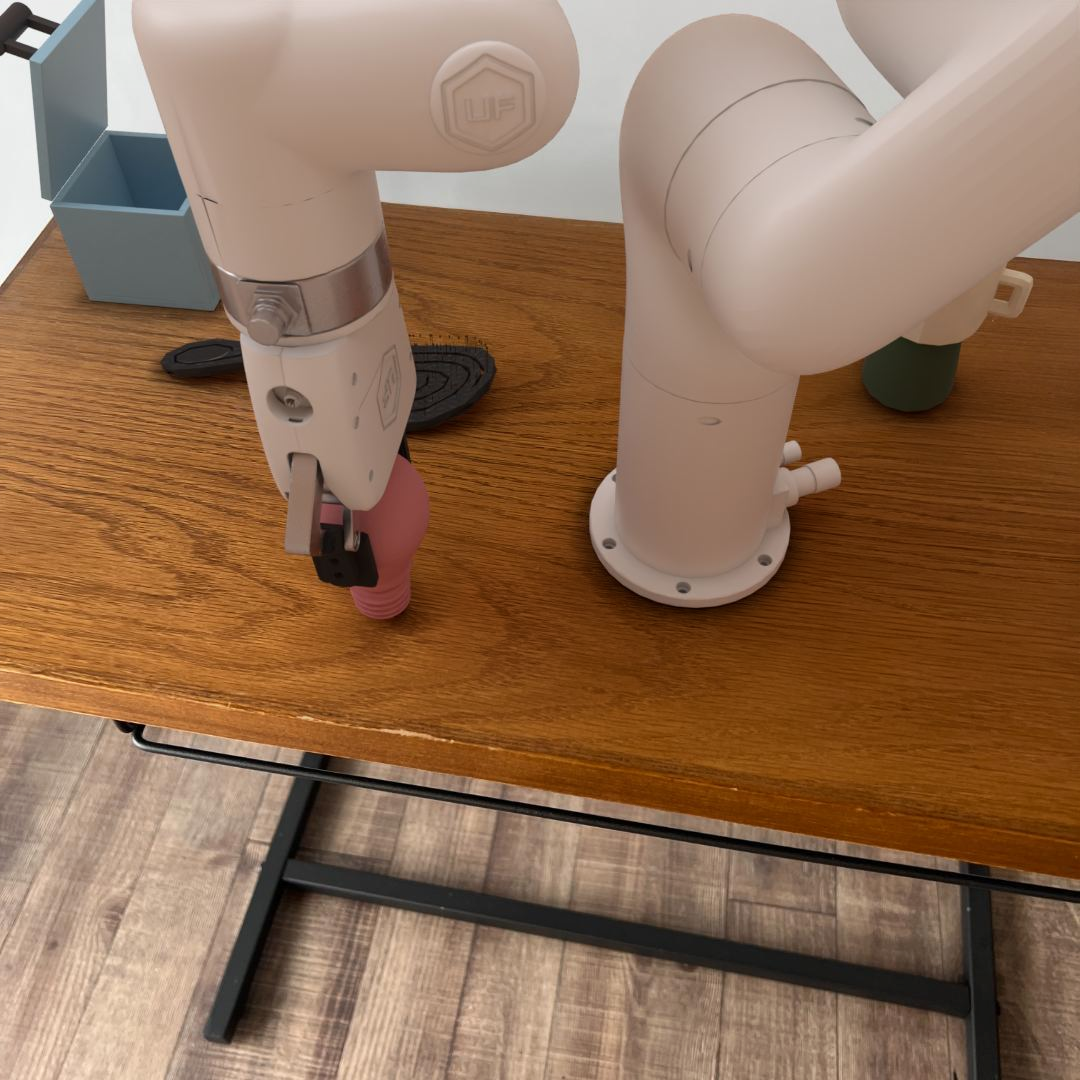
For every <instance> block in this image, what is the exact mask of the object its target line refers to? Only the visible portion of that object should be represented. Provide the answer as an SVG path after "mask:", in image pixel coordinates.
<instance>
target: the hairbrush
mask: <svg viewBox="0 0 1080 1080" xmlns="http://www.w3.org/2000/svg"><path fill="white" fill-rule="evenodd" d="M418 336H419V338H422V334H421V333H419V334H418ZM428 336H429V343H430V345H429V344H428V342H426V343H425V345H418V342H417V343H416V342H413V345H411V341H409V342H410V346H411V351H412V355H413V360H414V365H415V370H416V378H417V380H416V391H415V396H414V400H413V404H412V407H411V411H410V414H409V418H408V421H407V424H406V427H405V432H415V431H424V430H425V431H426V430H430V429H431V428H434V427H436V426H438V425H441V424H443V423H445V422H447V421H450V420H453V419H455V418H457V417H459V416H462V415H465V414H466V413H467V412H469V410H470V409H471V408H473V406H475V405H476V404H477V403H478V402H479V401H480V400H481V399H482V398H483V397H484V396H485V395H486V394H488V392H489V391H490V389H491V386H492V384H493V381H494V379H495V377H496V375H497V371H498V368H497V366H496V360H495V359H496V358H494V356H492V355H491V354H490V353H489V347H488V346H487V343H486V342H485V343H484V347H485V348H483V347H482V345H483V341H481V339H478V343H479V344H480V346H476V345H474V346H469V344H468V341H469V340H468V338H469V335H467V334H465V335H464V338H465V339H466V345H454V344H447V343H445V344H441V342H439V343H440V344H438V343H437V342H436V343H434V342H433V339H432V338H434V336H433V333H429V335H428ZM408 337H409V338H411V337H413V339H415V334H412V335H411V334H408ZM438 338H439V339H441V338H442V335H441V334H439V335H438ZM448 339H451V335H450V334H448ZM457 339H458V340H460V336H458V337H457ZM473 339H474V340H476V339H477V337H476V336H474V337H473ZM420 342H421V339H420ZM160 364H161V367H162V370H164V372H165V373H167V374H169V375H170V376H173V377H175V378H176V379H184V378H185V379H186V378H187V379H188V378H201V377H210V376H217V375H223V374H229V373H230V374H231V373H236V372H242V371H243V372H245V367H244V362H243V355H242V349H241V343H240V340H235V339H227V338H220V337H219V338H218V337H217V338H216V337H215V338H210V339H204V340H199V341H193V342H187V343H185V344H183V345H181V346H179V347H176V348H175V349H173V350H171V351H168V352H166V353H165V354H164V356H163V357H162V359H161V360H160Z"/></svg>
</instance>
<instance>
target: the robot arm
mask: <svg viewBox="0 0 1080 1080" xmlns="http://www.w3.org/2000/svg"><path fill="white" fill-rule="evenodd" d="M835 1H836V5H837V8H838V12H839V14H840V18H841V20H842V23H843V25H844V28H845V29H846V31H847V32H848V34H849V36H850V37H851V38H852V40H853V42H854V43H855V45H856V46H857V47H858V48H859V50H860V51H861V52H862V53H863V55H864V56H865V57H866V58H867V59H868V61H869V62H870V64H871V65H872V66H873V67H874V68H875V70H877V71H878V73H879V74H880V75H881V76H882V77H883V78H884V80H886V82H887V83H888V84H889V85H890V86H891V87H892V88H893V90H895V91H896V92H897V93H898V94H899V96H901V98H902V100H901V101H900V102H899V103H898V104H897V105H895V106H894V107H893V108H891V110H890V111H888V112H886V114H884V115H883V116H882V117H881V118H879V119H878V120H877V119H875V117H874V116H873V115H872V114H871V113H870V112H869V110H868V109H867V107H866V105H865V104H864V102H862V100H861V99H860V98H859V97H858V96H857V95H856V94H855V93H854V92H853V91H852V90H851V88H850V87H849V86H848V85H847V84H846V83H845V82H844V81H843V80H842V79H841V77H839V76H838V74H837V73H836V72H835V71H834V70H833V69H832V68H831V67H830V66H829V64H828V63H827V61H825V60H824V58H822V57H821V55H819V53H817V52H816V50H815V49H813V48H812V47H811V46H810V45H808V43H807V42H805V40H803V39H802V38H801V37H800V36H797V35H796V34H794V33H793V32H792V31H790V30H789V29H788V28H785V27H783V26H782V25H780V24H778V23H777V22H774V21H771V20H769V19H766V18H764V17H761V16H757V15H752V14H748V13H747V14H746V13H745V14H744V13H733V12H732V13H724V14H722V13H721V14H718V15H712V16H708V17H703V18H701V19H697V20H695V21H693V22H689V24H687V25H685V26H684V27H682V28H680V29H678V30H677V31H675V32H674V33H672V34H671V35H669V37H667V38H666V39H665V40H663V42H662V43H661V44H660V45H659V46H658V47H656V49H655V50H654V51H653V52H652V54H651V55H650V56H649V57H648V59H647V60H646V61H645V63H644V64H643V66H642V67H641V69H640V71H639V72H638V74H637V75H636V77H635V80H634V82H633V83H632V86H631V89H630V90H629V93H628V95H627V96H628V97H627V99H626V102H625V105H624V109H623V114H622V119H621V122H620V130H619V139H618V176H619V192H620V202H621V213H622V214H621V215H622V223H623V224H622V225H623V233H624V234H623V235H624V249H625V272H626V273H625V276H626V277H625V291H626V292H625V308H624V309H625V311H624V312H625V313H624V332H623V333H624V334H623V337H622V358H621V377H620V393H619V394H620V395H619V398H620V399H619V415H618V432H617V433H618V434H617V451H616V452H617V453H616V455H617V456H616V467H615V468H614V469H613V470H611V472H609V473H608V474H607V475H606V476H605V477H604V478H603V480H602V481H601V483H600V484H599V485H598V487H597V489H596V491H595V493H594V494H593V498H592V500H591V503H590V509H589V521H588V522H589V524H588V525H589V528H588V529H589V535H590V540H591V545H592V548H593V550H594V552H595V554H596V556H597V558H598V560H599V562H600V563H601V565H602V566H603V567H604V568H605V570H606V571H607V572H608V573H609V574H610V576H612V577H613V578H614V579H615V580H616V581H617V582H618V583H620V584H621V585H622V586H624V587H626V588H627V589H629V590H630V591H632V592H634V593H636V594H637V595H639V596H641V597H644V598H646V599H648V600H651V601H654V602H657V603H660V604H664V605H669V606H673V607H681V608H693V609H694V608H695V609H699V608H711V607H719V606H723V605H727V604H731V603H733V602H738V601H739V600H742V599H743V598H745V597H748V596H751V595H752V594H754V593H756V592H757V591H758V590H759V589H761V588H762V587H764V586H765V585H766V584H767V583H769V581H770V580H771V579H772V578H773V577H774V576H775V575H776V574H777V572H778V571H779V569H780V567H781V566H782V563H783V561H784V560H785V557H786V553H787V550H788V547H789V544H790V543H789V542H790V536H791V523H790V516H789V512H788V508H789V507H792V506H795V505H797V504H798V502H799V499H800V498H801V497H804V496H807V495H810V494H811V495H815V494H819V493H821V492H824V491H827V490H831V489H834V488H836V487H838V486H840V485H841V481H842V472H841V470H840V467H839V464H838V463H837V462H836V460H835V459H833V458H832V457H826V458H823V459H819V460H816V461H812V462H810V463H807V464H803V465H802V466H801V467H798V468H796V469H792V470H790V469H788V468H787V467H785V466H786V465H790V464H793V463H797V462H799V461H801V459H802V456H803V455H802V449H801V446H800V444H799V442H797V440H790V441H787V437H788V432H789V427H790V423H791V419H792V415H793V410H794V405H795V401H796V396H797V392H798V387H799V384H800V378H801V376H811V375H817V374H823V373H827V372H832V371H835V370H837V369H840V368H844V367H846V366H849V365H851V364H854V363H856V362H858V361H860V360H863V359H865V358H866V356H868V355H870V354H872V353H874V352H875V351H877V350H879V349H881V348H883V347H884V346H886V345H888V344H889V343H891V342H892V341H894V340H896V339H897V338H899V337H900V336H902V335H903V334H905V333H906V332H908V331H909V330H911V329H912V328H914V327H915V326H917V325H918V324H920V323H921V322H923V321H924V320H926V319H927V318H929V317H930V316H931V315H933V314H934V313H936V312H937V311H939V310H940V309H941V308H943V307H944V306H946V305H947V304H949V303H950V302H951V301H953V300H954V299H956V298H957V297H959V296H960V295H961V294H963V293H964V292H966V291H967V290H969V289H970V288H971V287H973V286H974V285H976V284H977V283H979V282H980V281H981V280H983V279H984V278H986V277H987V276H989V275H990V274H991V273H993V272H994V271H996V270H997V269H999V268H1000V267H1002V266H1003V265H1004V264H1006V263H1007V262H1008V263H1009V262H1010V261H1012V260H1013V259H1014V258H1016V257H1017V256H1019V255H1020V254H1021V253H1023V252H1025V251H1026V250H1028V249H1029V248H1031V246H1033V245H1034V244H1036V243H1037V242H1039V241H1040V240H1041V239H1043V238H1044V237H1046V236H1047V235H1049V234H1050V233H1052V232H1053V231H1054V230H1056V229H1057V228H1059V227H1061V226H1062V225H1063V224H1064V223H1065V222H1068V221H1069V220H1070V219H1072V218H1073V217H1074V216H1076V215H1077V214H1078V213H1080V0H835ZM563 9H564V8H563V7H562V6H561V4H560V2H559V1H558V0H132V2H131V11H130V13H131V27H132V28H131V29H132V32H133V36H134V40H135V43H136V46H137V50H138V51H137V52H138V54H139V57H140V60H141V63H142V66H143V69H144V72H145V75H146V78H147V81H148V85H149V87H150V90H151V93H152V95H153V100H154V102H155V106H156V109H157V111H158V114H159V117H160V120H161V123H162V126H163V129H164V132H165V134H166V135H167V138H168V141H169V144H170V147H171V150H172V153H173V156H174V159H175V162H176V165H177V168H178V171H179V174H180V177H181V180H182V183H183V185H184V188H185V191H186V194H187V197H188V200H189V203H190V206H191V209H192V213H193V216H194V219H195V222H196V225H197V228H198V231H199V234H200V237H201V240H202V243H203V246H204V249H205V252H206V255H207V258H208V261H209V264H210V267H211V270H212V273H213V276H214V279H215V282H216V285H217V288H218V291H219V294H220V297H221V298H220V300H221V303H222V307H223V308H224V311H225V315H226V317H227V319H228V320H229V321H230V323H231V325H232V326H234V328H236V329H237V330H238V331H239V332H240V333H239V341H240V343H241V349H242V355H243V362H244V367H245V371H244V372H245V378H246V381H247V388H248V392H249V396H250V402H251V406H252V410H253V414H254V418H255V423H256V426H257V427H256V428H257V430H258V434H259V438H260V441H261V445H262V449H263V451H264V455H265V457H266V461H267V464H268V468H269V470H270V473H271V475H272V478H273V480H274V482H275V485H276V487H277V489H278V491H279V493H280V495H281V496H282V497H283V498H284V499H285V500H286V501H287V510H286V511H287V512H286V523H285V533H284V534H285V535H284V544H283V545H284V551H285V554H287V555H294V556H296V555H297V556H303V557H311V559H312V562H313V565H314V568H315V572H316V575H317V577H318V580H319V581H320V582H322V583H324V584H330V585H332V586H335V587H338V588H339V587H340V588H350V587H353V586H360V587H370V588H373V587H376V585H377V582H378V579H379V575H378V571H377V567H376V563H375V559H374V555H373V551H372V547H371V543H370V539H369V535H368V534H366V533H365V532H360V510H363V511H368V510H370V509H371V508H373V507H374V506H375V505H376V504H377V503H378V502H379V500H380V499H381V497H382V496H383V493H384V491H385V488H386V486H387V483H388V480H389V477H390V474H391V471H392V468H393V465H394V462H395V459H396V456H397V453H398V454H399V455H401V456H402V457H404V458H405V459H406V460H408V461H409V462H410V463H411V464H412V459H411V453H410V449H409V443H408V438H407V433H406V432H407V431H406V432H405V427H406V424H407V421H408V418H409V414H410V411H411V407H412V404H413V400H414V396H415V391H416V380H417V378H416V370H415V365H414V360H413V355H412V351H411V346H412V345H411V344H410V342H411V341H410V337H409V333H408V329H407V324H406V321H405V320H406V319H405V316H404V312H403V308H402V303H401V299H400V296H399V292H398V288H397V284H396V282H395V275H394V269H393V265H392V264H393V263H392V259H391V251H390V247H389V240H388V235H387V231H386V230H387V229H386V224H385V218H384V213H383V208H382V203H381V196H380V191H379V185H378V179H377V174H376V172H411V173H412V172H413V173H442V174H443V173H444V174H445V173H446V174H447V173H451V174H453V173H459V174H461V173H471V172H472V173H473V172H485V171H490V170H495V169H499V168H504V167H508V166H511V165H513V164H516V163H520V162H521V161H524V160H526V159H527V158H529V157H531V156H534V154H536V153H537V152H539V151H540V150H542V149H543V148H544V147H546V146H547V145H548V144H549V143H550V142H551V141H553V139H554V138H555V137H556V136H557V135H558V134H559V133H560V131H561V130H562V128H563V127H564V126H565V124H566V123H567V121H568V119H569V117H570V115H571V113H572V110H573V108H574V105H575V103H576V100H577V96H578V91H579V88H580V87H579V86H580V73H581V69H580V55H579V51H578V46H577V41H576V39H575V36H574V32H573V29H572V27H571V25H570V21H569V20H568V17H567V16H566V13H565V11H564V10H563ZM1008 263H1007V264H1008ZM786 441H787V442H786ZM324 481H325V484H324ZM322 503H325V504H336V505H342V515H343V525H340V524H330V523H320V519H321V508H322Z"/></svg>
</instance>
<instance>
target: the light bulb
mask: <svg viewBox="0 0 1080 1080" xmlns="http://www.w3.org/2000/svg"><path fill="white" fill-rule="evenodd" d="M324 484H325V481H324ZM427 489H428V488H427V486H426V483H425V482H424V480H423V478H422V476H421V474H420V472H418V470H417V469H416V467H415V466H414V465H413V464H412V462H411V463H410V462H409V461H408V460H406V459H405V458H404V457H402V456H401V455H399V454H398V453H397V456H396V459H395V462H394V465H393V468H392V471H391V474H390V477H389V480H388V483H387V486H386V488H385V491H384V493H383V496H382V497H381V499H380V500H379V502H378V503H377V504H376V505H375V506H374V507H373V508H371V509H370V510H368V511H363V510H360V532H365V533H366V534H368V535H369V539H370V543H371V547H372V551H373V555H374V559H375V563H376V567H377V571H378V575H379V579H378V582H377V585H376V587H373V588H370V587H360V586H353V587H349V591H350V595H351V597H352V600H353V603H354V605H355V607H356V609H357V610H358V611H359V612H360V614H362V615H363V616H366V617H368V618H371V619H373V620H388V619H391V618H394V617H396V616H399V615H400V614H401V613H402V612H403V611H404V610H405V609H406V608H407V607H408V605H409V603H410V600H411V597H412V591H411V587H412V586H411V584H412V583H411V576H410V574H411V571H412V569H413V566H414V556H415V554H416V553H417V551H418V549H419V547H420V545H421V543H422V541H423V540H424V538H425V536H426V534H427V530H428V527H429V523H430V517H431V503H430V496H429V492H428V490H427ZM320 523H330V524H340V525H343V515H342V505H336V504H325V503H322V508H321V519H320Z"/></svg>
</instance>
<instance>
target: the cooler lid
mask: <svg viewBox="0 0 1080 1080" xmlns="http://www.w3.org/2000/svg"><path fill="white" fill-rule="evenodd" d="M105 4H106V1H105V0H80V2H79V3H78V4H77V5H76V6H75V7H74V8H73V9H72V11H71V12H70V13H69V14H68V15H67V16H66V18H64V19H63V21H62V22H61V23H59V22H56V21H54V20H51V19H48V18H45V17H43V16H40V15H36V14H34V13H33V10H31V8H30V7H29V6H28V5H27V4H25V3H23V2H21V1H14V2H12V3H11V4H10V5H9V6H8V7H7V8H6V9H5V10H4V12H2V14H1V15H0V57H2V56H3V55H5V53H7V54H9V55H11V56H15V57H17V58H20V59H23V60H25V61H28V63H29V73H30V85H31V95H32V96H31V97H32V107H33V108H32V109H33V119H34V129H35V130H34V131H35V143H36V154H37V164H38V165H37V166H38V175H39V188H40V198H41V199H43V200H46V201H49V202H53V200H54V199H55V197H56V196H57V195H58V193H59V192H60V191H61V189H62V188H63V186H64V185H65V184H66V182H67V181H68V180H69V178H70V177H71V176H72V174H73V173H74V172H75V170H76V169H77V168H78V166H79V165H80V164H81V162H82V161H83V159H84V158H85V157H86V155H87V154H88V153H89V151H90V150H91V149H92V147H93V146H94V145H95V143H96V142H97V141H98V139H99V138H100V137H101V135H102V134H103V133H104V131H105V130H107V129H108V127H109V113H108V78H107V77H108V76H107V75H108V74H107V73H108V72H107V42H106V41H107V39H106V38H107V37H106V5H105ZM27 29H32V30H35V31H38V32H40V33H42V34H46V35H48V36H49V37H48V38H47V39H45V41H44V42H43V43H42V44H41V45H40V46H39V48H37V47H35V46H31V45H29V44H25V43H23V42H20V41H17V40H19V39H20V37H21V36H22V35H23V34H24V33H25V32H26V31H27Z"/></svg>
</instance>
